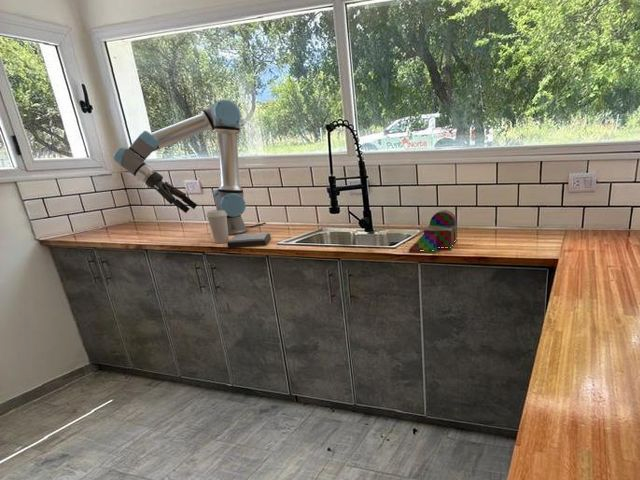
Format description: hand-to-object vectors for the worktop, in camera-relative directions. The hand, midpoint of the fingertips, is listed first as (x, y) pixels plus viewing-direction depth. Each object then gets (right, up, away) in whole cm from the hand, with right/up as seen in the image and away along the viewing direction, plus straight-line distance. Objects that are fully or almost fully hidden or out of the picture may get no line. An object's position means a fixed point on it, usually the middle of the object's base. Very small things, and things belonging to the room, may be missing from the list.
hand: (191, 208), depth 213 cm
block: (+115, -20, -14) cm, 117 cm away
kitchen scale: (+26, -16, +4) cm, 31 cm away
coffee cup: (+11, -15, +8) cm, 20 cm away
